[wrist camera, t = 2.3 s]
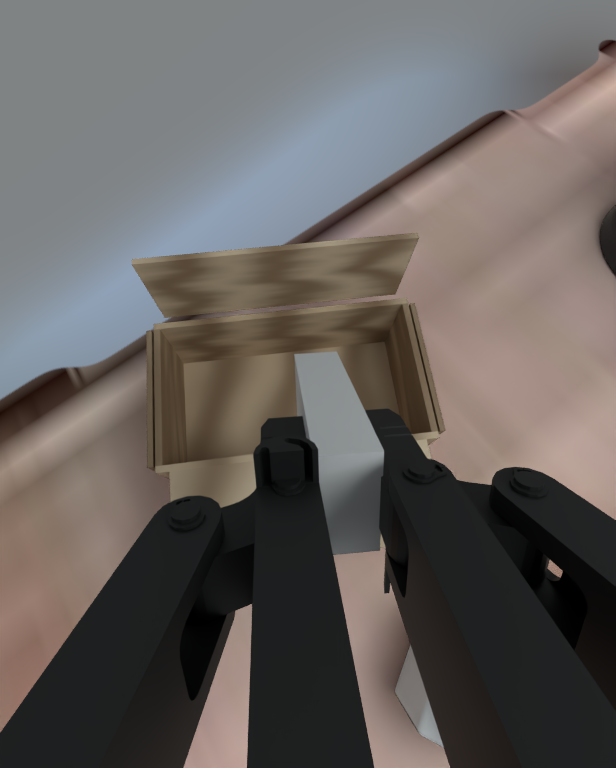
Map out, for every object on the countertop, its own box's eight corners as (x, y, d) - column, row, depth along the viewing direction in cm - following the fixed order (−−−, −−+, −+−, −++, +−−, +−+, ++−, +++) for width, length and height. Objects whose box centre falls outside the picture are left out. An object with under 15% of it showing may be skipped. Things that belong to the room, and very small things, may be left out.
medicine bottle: (392, 692, 33) (442, 778, 22) (423, 601, 35) (484, 635, 24) (479, 739, 32) (578, 854, 21) (505, 642, 34) (608, 698, 23)
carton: (393, 338, 43) (413, 297, 35) (435, 533, 37) (471, 534, 29) (173, 362, 42) (146, 324, 34) (179, 569, 35) (147, 580, 28)
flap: (394, 289, 35) (417, 231, 28) (395, 294, 35) (418, 237, 28) (164, 312, 34) (131, 258, 27) (165, 317, 34) (131, 264, 27)
